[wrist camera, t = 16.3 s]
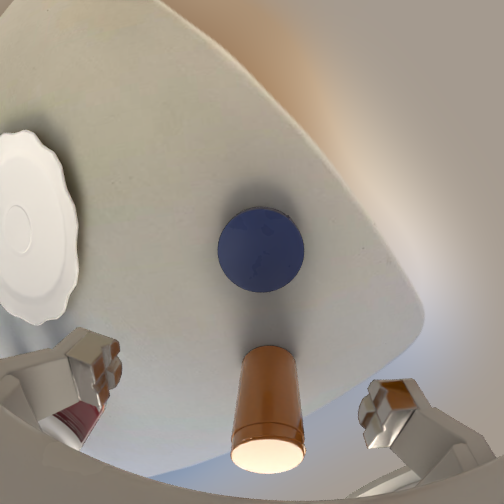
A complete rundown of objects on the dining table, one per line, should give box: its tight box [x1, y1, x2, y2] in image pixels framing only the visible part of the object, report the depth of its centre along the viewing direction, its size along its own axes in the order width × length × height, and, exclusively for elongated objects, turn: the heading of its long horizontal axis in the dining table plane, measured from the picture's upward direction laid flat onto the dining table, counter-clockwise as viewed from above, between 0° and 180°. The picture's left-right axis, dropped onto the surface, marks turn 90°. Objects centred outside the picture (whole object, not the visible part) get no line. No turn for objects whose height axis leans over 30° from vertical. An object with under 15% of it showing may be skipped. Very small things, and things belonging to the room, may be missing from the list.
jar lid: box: [218, 207, 304, 292], centre depth 21 cm, size 6×6×2 cm
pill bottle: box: [38, 400, 106, 451], centre depth 23 cm, size 6×6×11 cm
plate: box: [0, 130, 80, 326], centre depth 22 cm, size 21×21×2 cm
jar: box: [230, 346, 306, 474], centre depth 20 cm, size 5×5×10 cm
